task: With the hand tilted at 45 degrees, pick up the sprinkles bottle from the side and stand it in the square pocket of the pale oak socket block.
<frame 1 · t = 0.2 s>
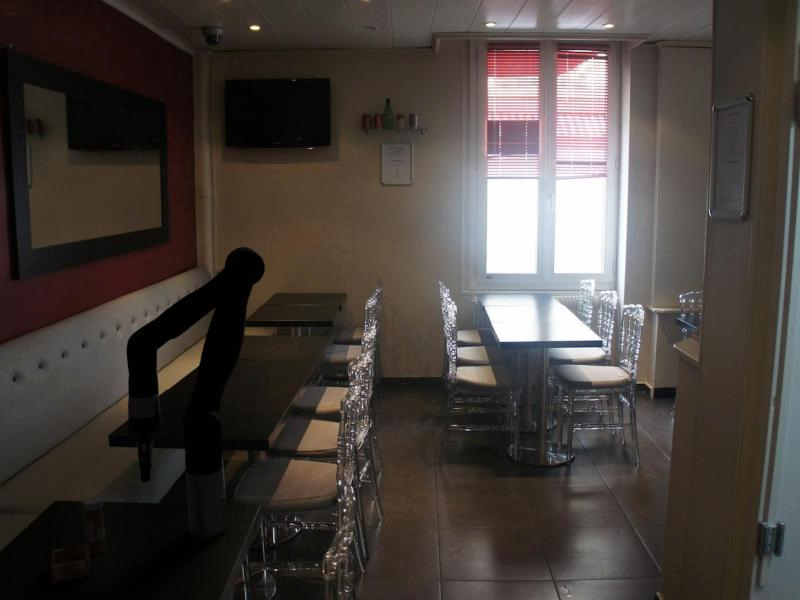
hand: (146, 474, 187), 18 cm above the table, tool pointing down, fingers open, 8 cm apart
oak socket block: (71, 570, 177), on the table
sprinkles bottle: (96, 550, 186), on the table
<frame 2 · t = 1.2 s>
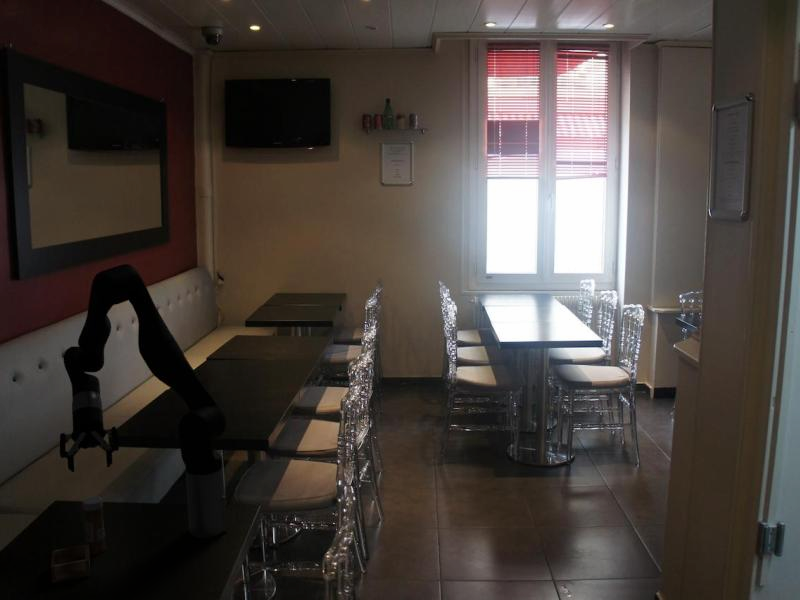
hand: (90, 468, 193), 17 cm above the table, tool tilted 45°, fingers open, 8 cm apart
nothing on the table moved.
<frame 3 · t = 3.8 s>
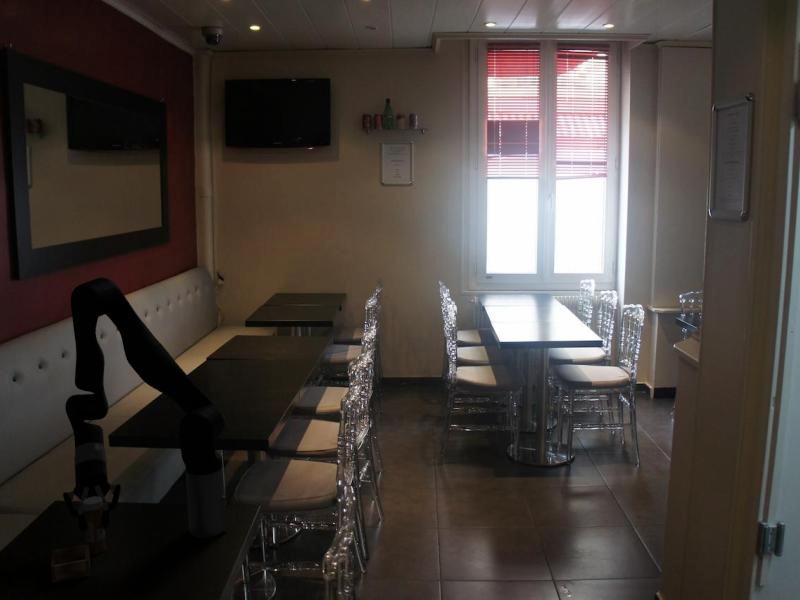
hand: (94, 529, 183), 7 cm above the table, tool tilted 45°, fingers closed on sprinkles bottle, 4 cm apart
sprinkles bottle: (96, 550, 186), on the table, touching gripper
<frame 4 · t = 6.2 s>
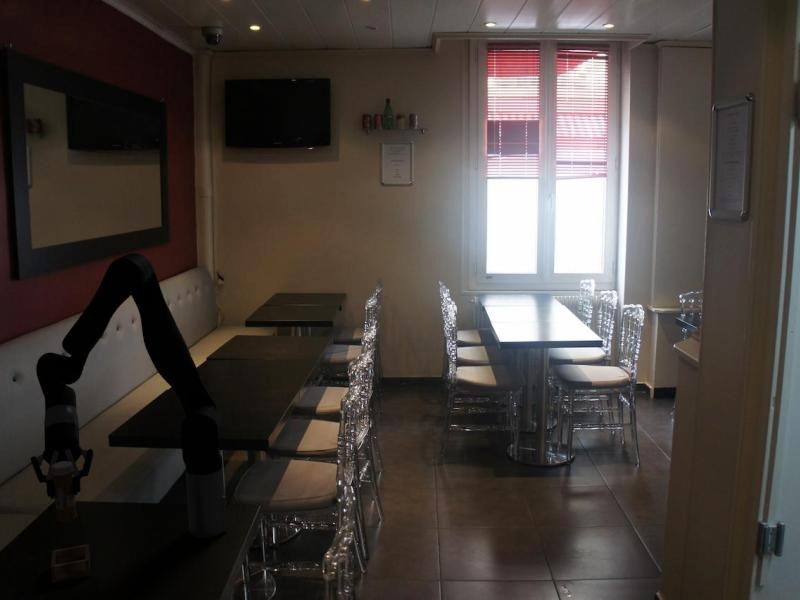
hand: (64, 495, 172), 20 cm above the table, tool tilted 45°, fingers closed on sprinkles bottle, 4 cm apart
sprinkles bottle: (66, 519, 175), point 13 cm above the table, touching gripper
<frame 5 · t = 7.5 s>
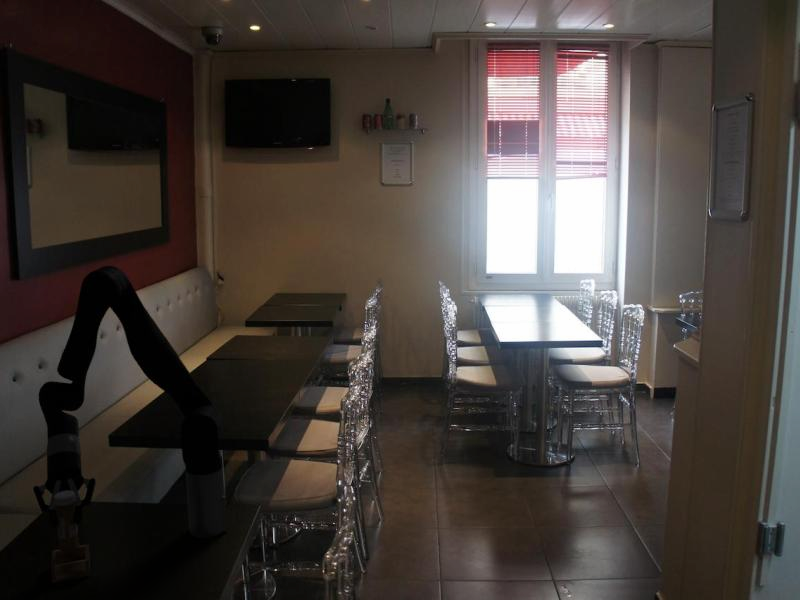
hand: (66, 525, 173), 13 cm above the table, tool tilted 45°, fingers closed on sprinkles bottle, 4 cm apart
sprinkles bottle: (68, 548, 176), point 6 cm above the table, touching gripper
when the fingers open (8 cm above the table, at t = 8.8 s): sprinkles bottle stays where it is, resting on oak socket block.
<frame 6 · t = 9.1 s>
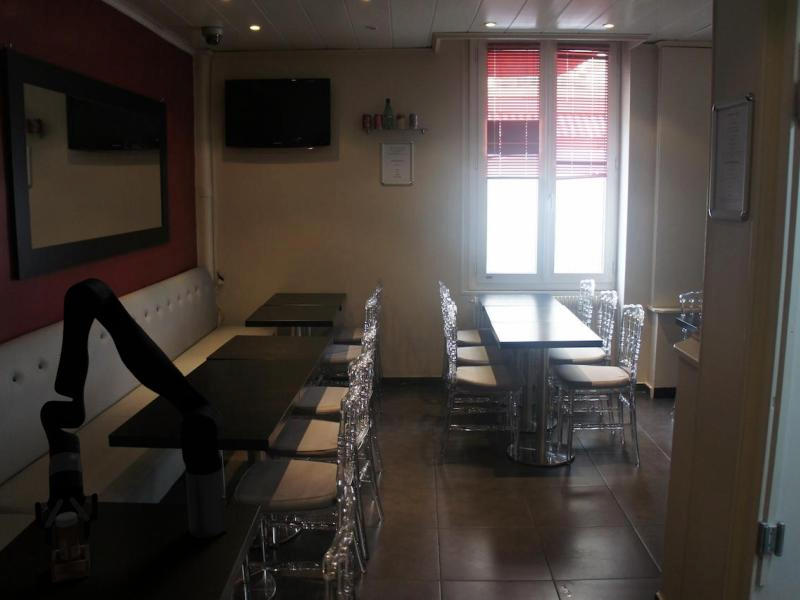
hand: (68, 541, 174), 8 cm above the table, tool tilted 45°, fingers open, 7 cm apart
sprinkles bottle: (71, 568, 177), resting on oak socket block
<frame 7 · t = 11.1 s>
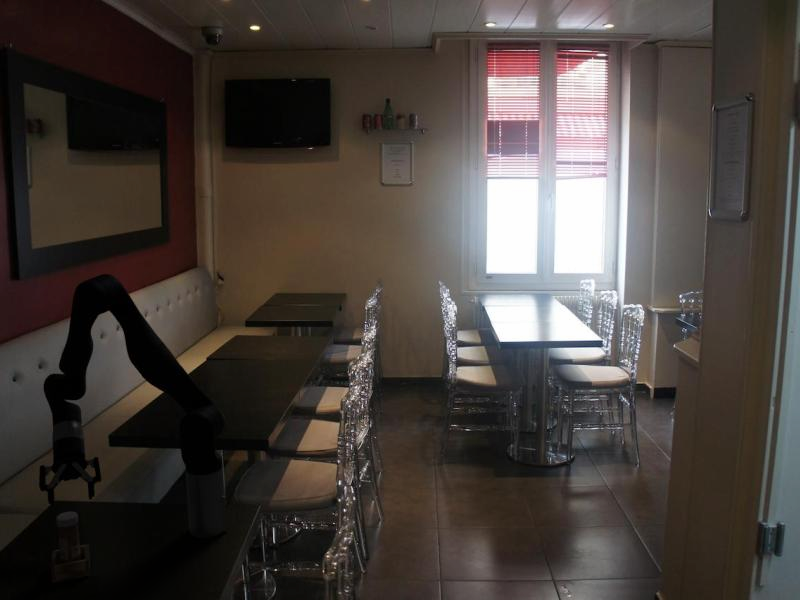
hand: (71, 501, 186), 12 cm above the table, tool tilted 45°, fingers open, 8 cm apart
nothing on the table moved.
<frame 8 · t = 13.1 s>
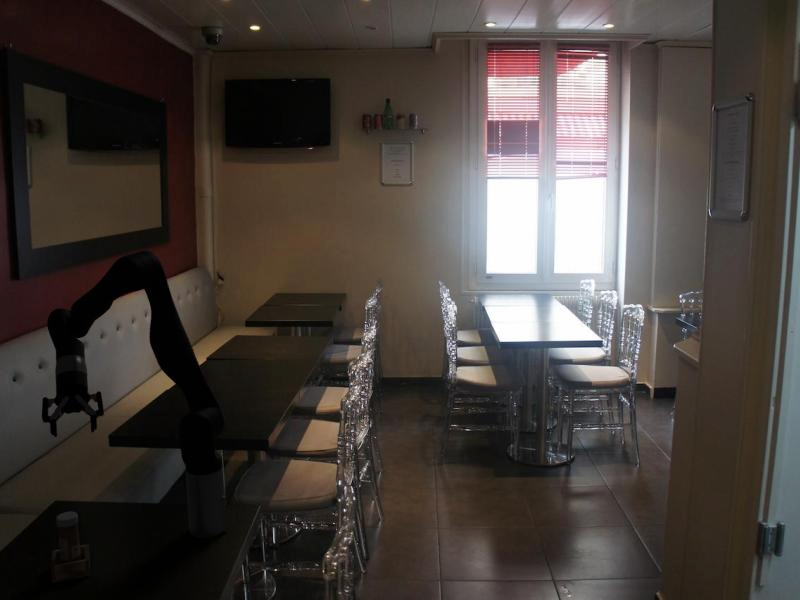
hand: (74, 433, 186), 29 cm above the table, tool tilted 45°, fingers open, 8 cm apart
nothing on the table moved.
at the end: sprinkles bottle 0.2 cm off-centre on the oak socket block, point 0.4 cm above the oak socket block's base; sprinkles bottle tilted 0°; the gripper is holding nothing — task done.
